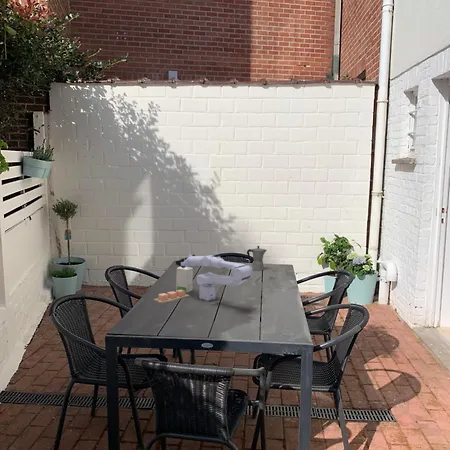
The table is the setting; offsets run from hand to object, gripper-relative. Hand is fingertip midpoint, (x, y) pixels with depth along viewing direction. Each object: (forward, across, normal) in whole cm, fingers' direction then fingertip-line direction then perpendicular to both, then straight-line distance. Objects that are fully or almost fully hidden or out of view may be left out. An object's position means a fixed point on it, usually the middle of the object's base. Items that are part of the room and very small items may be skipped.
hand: (180, 261), depth 288 cm
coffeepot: (+6, -81, +27) cm, 86 cm away
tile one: (-5, +10, +19) cm, 22 cm away
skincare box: (+3, -1, +20) cm, 20 cm away
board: (-4, +16, +19) cm, 25 cm away
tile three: (-3, +22, +17) cm, 28 cm away
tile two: (-4, +16, +18) cm, 24 cm away
